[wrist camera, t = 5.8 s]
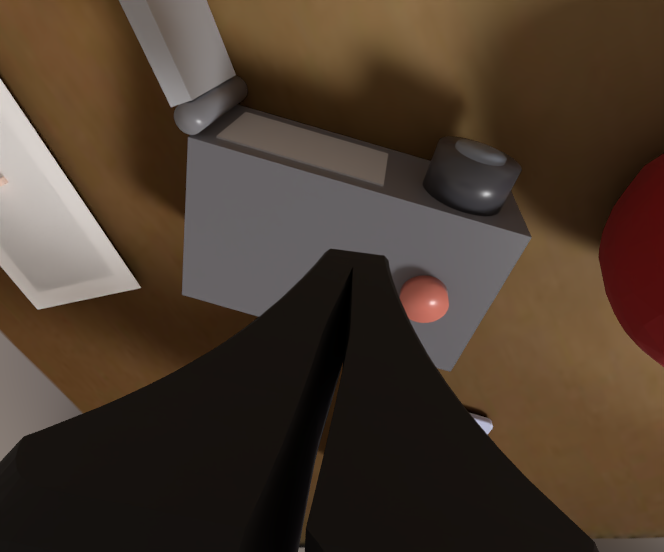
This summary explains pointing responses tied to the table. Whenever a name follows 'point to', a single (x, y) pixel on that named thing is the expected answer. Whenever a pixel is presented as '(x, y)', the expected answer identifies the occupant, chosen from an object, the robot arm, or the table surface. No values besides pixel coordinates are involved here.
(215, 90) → the door
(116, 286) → the touchpad
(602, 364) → the table surface
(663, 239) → the apple
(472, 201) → the camera body
